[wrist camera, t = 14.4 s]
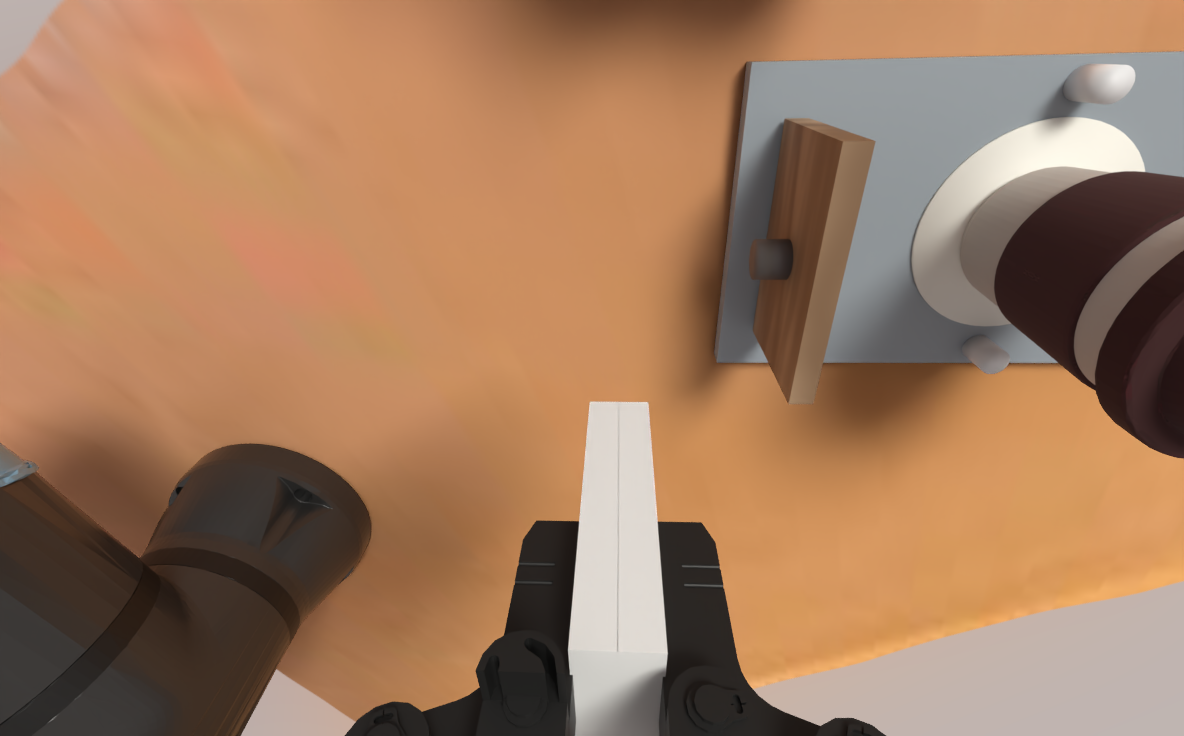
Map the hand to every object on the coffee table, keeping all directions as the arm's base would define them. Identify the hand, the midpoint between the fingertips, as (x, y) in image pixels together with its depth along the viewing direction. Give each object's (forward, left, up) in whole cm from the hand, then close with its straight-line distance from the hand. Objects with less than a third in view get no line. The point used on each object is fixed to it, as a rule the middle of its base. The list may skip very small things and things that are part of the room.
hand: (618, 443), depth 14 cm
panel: (+8, 0, -19) cm, 20 cm away
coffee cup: (+23, 0, -19) cm, 30 cm away
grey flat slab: (+19, 0, -20) cm, 27 cm away
